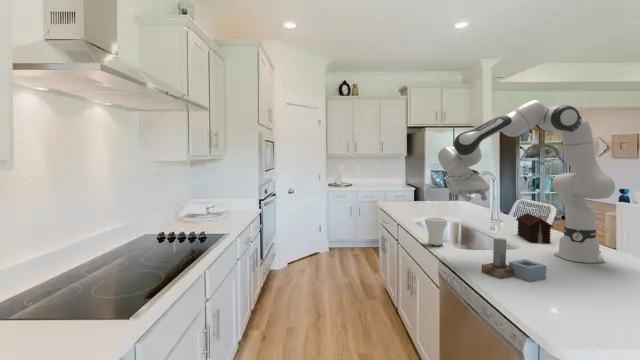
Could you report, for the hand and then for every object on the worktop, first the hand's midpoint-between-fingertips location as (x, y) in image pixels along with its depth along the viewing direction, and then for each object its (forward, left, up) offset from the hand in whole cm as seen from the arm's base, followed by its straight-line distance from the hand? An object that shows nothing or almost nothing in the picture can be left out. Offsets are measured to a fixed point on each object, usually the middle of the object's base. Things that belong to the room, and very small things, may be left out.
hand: (477, 200), depth 152 cm
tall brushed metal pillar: (+5, +11, -28) cm, 31 cm away
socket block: (+5, +11, -28) cm, 31 cm away
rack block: (+1, +20, -28) cm, 35 cm away
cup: (-22, -29, -29) cm, 46 cm away
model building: (-71, +6, -29) cm, 77 cm away
